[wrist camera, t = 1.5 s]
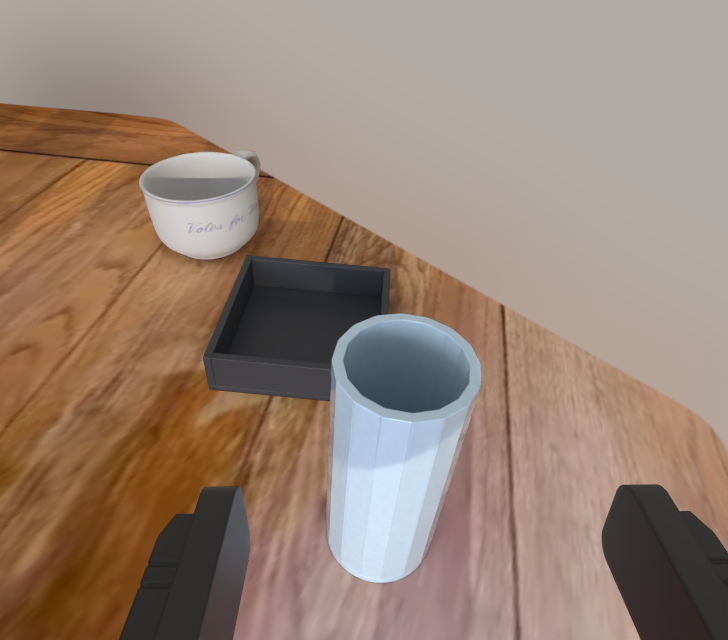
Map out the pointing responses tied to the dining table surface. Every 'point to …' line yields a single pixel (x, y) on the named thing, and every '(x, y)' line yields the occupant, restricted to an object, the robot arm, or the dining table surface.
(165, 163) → the teacup
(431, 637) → the dining table surface
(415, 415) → the tumbler
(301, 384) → the tray
